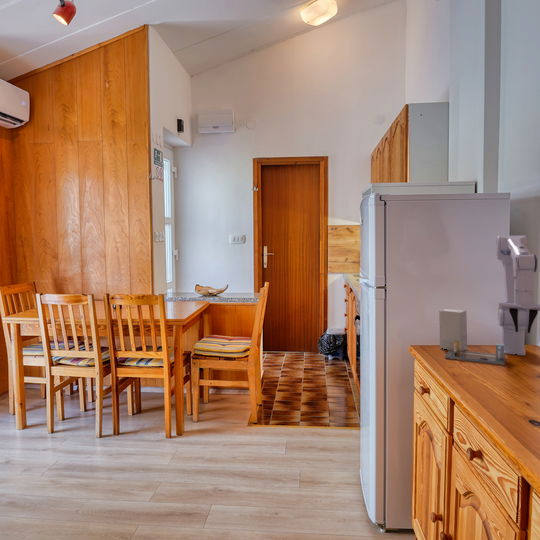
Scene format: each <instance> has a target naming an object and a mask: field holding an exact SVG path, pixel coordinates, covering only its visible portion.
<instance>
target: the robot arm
mask: <svg viewBox="0 0 540 540" xmlns="http://www.w3.org/2000/svg"><path fill="white" fill-rule="evenodd" d="M495 251H496V252H495V254H496V258H497V260H499V261H500V262H501V263H502V267H503V277H504V279H503V280H504V291H505V292H504V293H505V301H504V302H499V303H498V310H497V311H498V312H497V324H498V325H499V326H500V327H501V328H502V331H501V344H504V354H505V355H507V354H509V355H515V354H517V355H516V356H526V348H525V337H526V330H527V334H531V329H532V326H533V323H534V322H535V320H536V317H537V316H538V314H539V312H540V304H536V303H534V302H535V278H536V276H535V274H536V272H537V270H538V260H539V259H538V256H537V254H536V253H531V252H530V250H529V248H528V238H527V236H526V235H525V234H524V235H523V234H522V235H497V237H496V241H495Z"/></svg>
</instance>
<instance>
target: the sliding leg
mask: <svg viewBox="0 0 540 540" xmlns="http://www.w3.org/2000/svg"><path fill="white" fill-rule="evenodd" d="M495 354H496V357H498V359H500V357H502V358H504V355H505V353H504V344H502V343H498V342H497V343H495Z"/></svg>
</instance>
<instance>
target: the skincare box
mask: <svg viewBox="0 0 540 540" xmlns="http://www.w3.org/2000/svg"><path fill="white" fill-rule="evenodd" d="M438 313H439V316H438V317H439V349H440V348H443V349H442V350H444V349H447V350H446V351H449V350H450V349H453V341H454V340H457V341H462V346H461V350H465V351H468V350H467V349H468V331H467V330H468V329H467V327H468V326H467V321H468V320H467V310H464V309H451V308H445V309H442V310H439V311H438Z"/></svg>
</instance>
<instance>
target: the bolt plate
mask: <svg viewBox="0 0 540 540" xmlns="http://www.w3.org/2000/svg"><path fill="white" fill-rule="evenodd" d="M461 346H462V341H457V340H454V341H453V349H450V350H447V352H446V354H445V356H444V358H450V359H449V360H454V359H459V360H458V361H462V360H464V361H463V362H470V361H471V363H479V362H481V363H480V364H487V363H491V364H490V365H496V364H500V365H499V366H505V365H504V364H505V360H506V354H504V358H502V357H500V359H498V357H496V353H489V352H480V351H474V350H473V351H472V350H465V351H464V350H461Z"/></svg>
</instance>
